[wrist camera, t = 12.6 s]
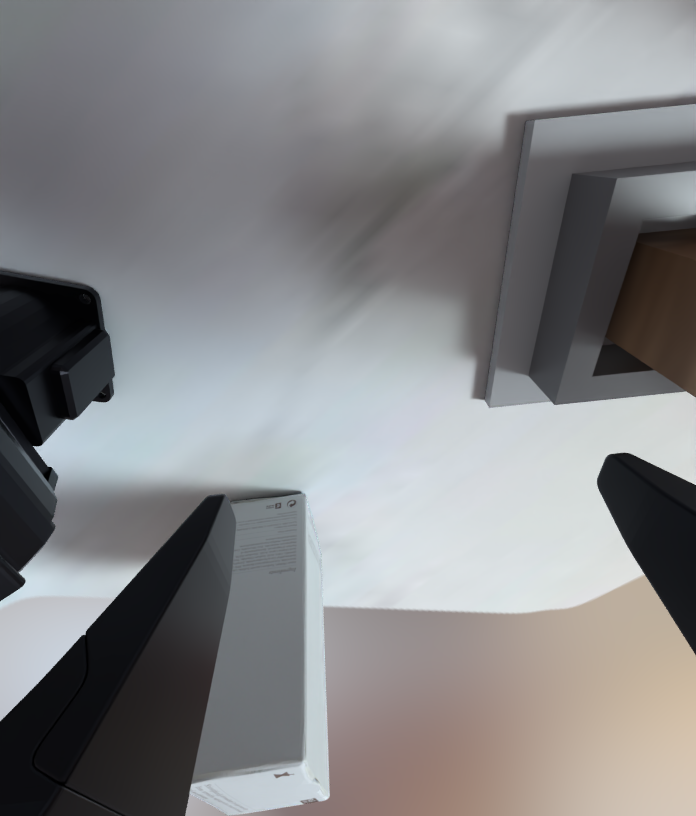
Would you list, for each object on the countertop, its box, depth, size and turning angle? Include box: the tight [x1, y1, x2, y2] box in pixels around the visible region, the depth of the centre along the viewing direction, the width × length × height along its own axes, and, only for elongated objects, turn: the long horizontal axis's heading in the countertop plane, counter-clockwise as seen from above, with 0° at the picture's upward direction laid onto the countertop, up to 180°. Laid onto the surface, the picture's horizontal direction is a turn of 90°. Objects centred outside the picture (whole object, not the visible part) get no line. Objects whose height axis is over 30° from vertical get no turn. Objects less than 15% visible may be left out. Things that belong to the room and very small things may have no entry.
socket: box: [485, 104, 696, 408], centre depth 18 cm, size 14×14×4 cm
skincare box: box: [189, 494, 330, 815], centre depth 24 cm, size 8×6×15 cm
